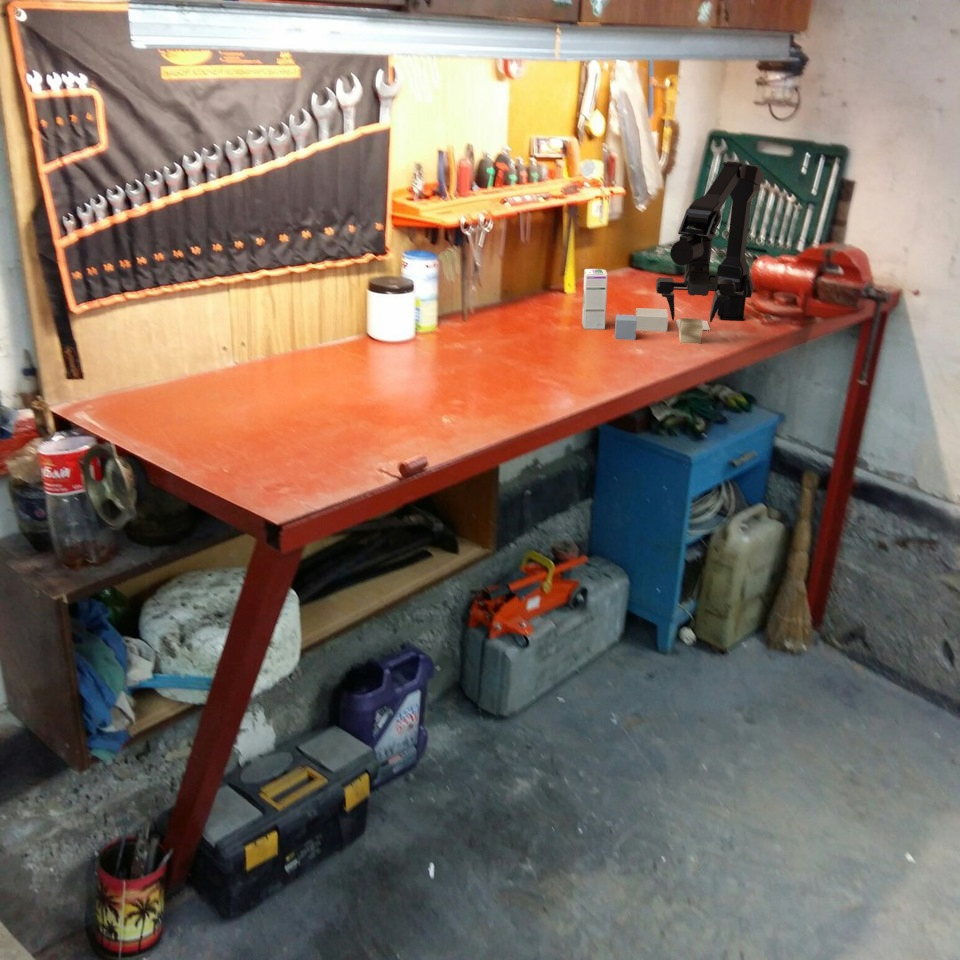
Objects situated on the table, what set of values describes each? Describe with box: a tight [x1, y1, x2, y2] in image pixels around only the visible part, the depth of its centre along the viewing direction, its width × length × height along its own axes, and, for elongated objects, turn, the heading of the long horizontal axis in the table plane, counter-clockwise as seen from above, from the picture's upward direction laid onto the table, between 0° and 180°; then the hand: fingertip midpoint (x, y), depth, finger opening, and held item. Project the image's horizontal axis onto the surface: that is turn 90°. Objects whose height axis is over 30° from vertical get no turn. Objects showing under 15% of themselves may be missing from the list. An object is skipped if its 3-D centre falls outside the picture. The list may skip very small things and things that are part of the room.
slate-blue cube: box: [614, 314, 637, 341], centre depth 247 cm, size 5×5×5 cm
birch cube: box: [678, 317, 703, 345], centre depth 245 cm, size 5×5×5 cm
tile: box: [675, 319, 711, 332], centre depth 257 cm, size 8×8×1 cm
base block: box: [635, 307, 669, 333], centre depth 256 cm, size 8×8×4 cm
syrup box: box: [581, 268, 609, 330], centre depth 253 cm, size 6×6×14 cm
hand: (691, 321), depth 244 cm, fingers open, 9 cm apart
